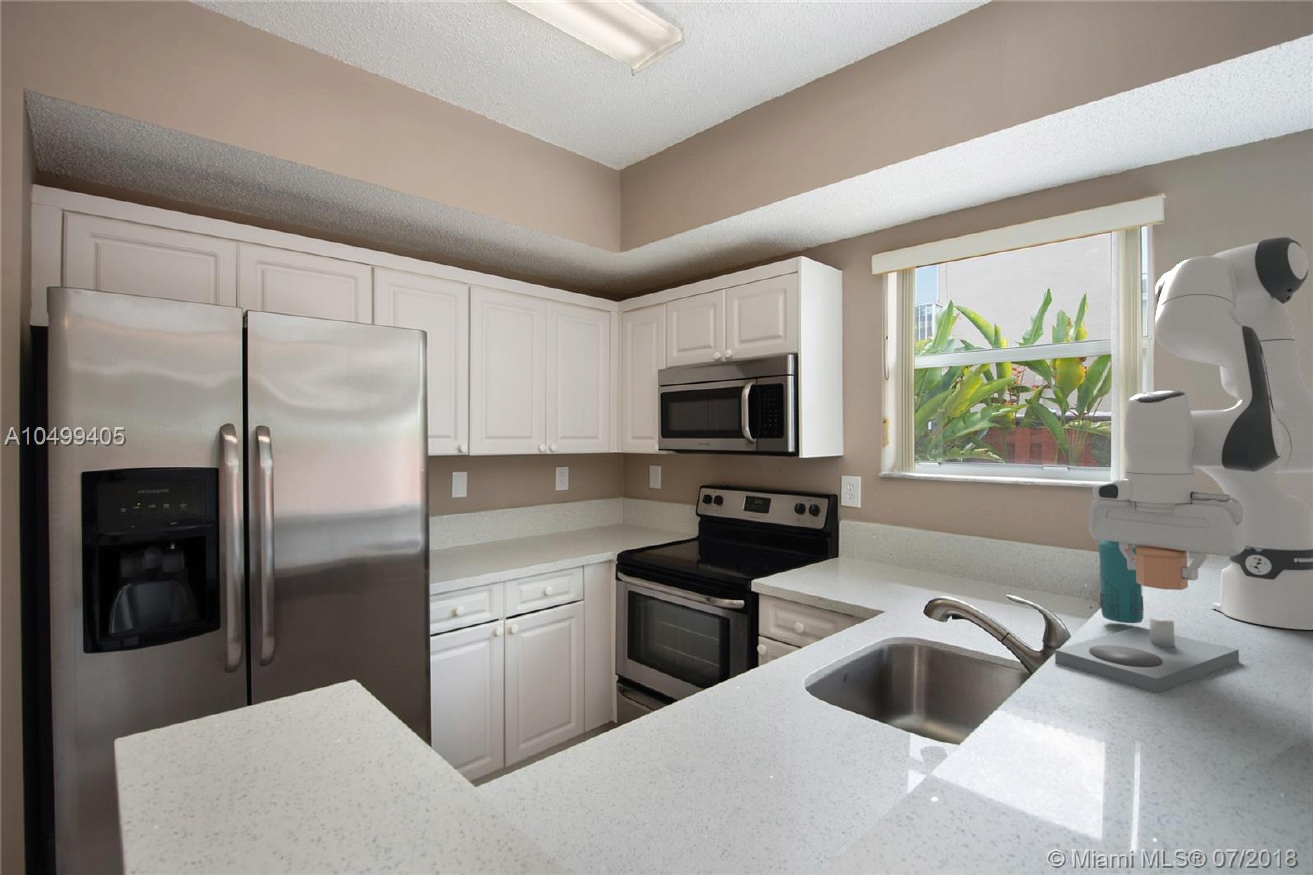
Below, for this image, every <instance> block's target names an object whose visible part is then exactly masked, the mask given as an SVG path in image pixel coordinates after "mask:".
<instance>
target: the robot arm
mask: <svg viewBox="0 0 1313 875" xmlns="http://www.w3.org/2000/svg"><path fill="white" fill-rule="evenodd" d="M1308 260H1309V259H1308V256H1307V253H1306V251H1305V250H1304V249H1303V247H1302V246H1301V244H1300V243H1299V242H1298V241H1296V240H1295V239H1292V238H1290V237H1287V236H1283V237H1273V238H1267V239H1262V240H1261V241H1259V242H1256V243H1251V244H1246V245H1243V246H1238V247H1234V248H1231V249H1230V248H1229V249H1227V250H1223V251H1220V252H1217V253H1216V254H1213V255H1202V256H1195V257H1191V258H1188V259H1186V260H1184V261H1181V262H1180V263H1179V264H1176V266H1175V267H1174V268H1172V269H1171V270H1170V271H1168V272H1165V273H1163V275H1162V276H1161V278H1159V280H1158V281H1157V283H1156V285H1155V288H1154V295H1155V297H1154V298H1155V301H1156V304H1157V308H1156V314H1155V318H1154V337H1155V340H1156V341H1157V343H1158V344H1159V346H1160V347H1161V348H1162V349H1164V350H1165V351H1166V352H1168V353H1169V354H1170V355H1173V356H1175V357H1178V358H1180V359H1183V360H1187V361H1191V362H1198V363H1202V364H1203V363H1204V364H1209V365H1213V366H1217V367H1219V373H1220V380H1221V386H1222V388H1223V390H1224V391H1225V392H1226V393H1227V394H1228V395H1230V396H1232V397H1233V398H1236V401H1237V402H1236V404H1235V405H1234V406H1233V407H1232V406H1231V407H1230V408H1227V409H1207V410H1205V409H1204V410H1192V409H1191V408H1192V407H1191V404H1190V400H1189V397H1188V394H1187V393H1185V392H1184V391H1181V390H1168V389H1167V390H1153V391H1148V392H1147V391H1146V392H1141V393H1137V394H1135V395H1133V396H1132V397H1130V398H1129V399H1128V401H1127V402H1128V403H1127V406H1126V410H1125V411H1126V412H1125V419H1124V438H1123V439H1124V449H1125V451H1126V454H1127V462H1126V465H1125V468H1124V479H1117V480H1114V481H1113V482H1108V483H1103V484H1098V485H1096V486H1093V487H1092V497H1094V498H1095V499H1094V500H1093V501H1092V502H1091V504H1090V505H1089V506H1090V507H1089V513H1088V532H1089V534H1090V536H1091V537H1092V538H1093V539H1094V540H1101V541H1102V540H1107V541H1114V542H1119V549H1120V551H1121V552H1122V554H1123V555H1124V557H1125V558H1126V559H1127V568H1128V570H1134V571H1136V556H1135V554H1134V552H1133V551H1132V549H1133V548H1135V544H1137V545H1144V546H1151V547H1159V548H1166V549H1174V550H1181V551H1187V552H1188V554H1189V555H1188V556H1189V559H1190V560H1192V561H1191V563H1190V564H1189V565H1188V566H1187V567H1183V568H1181V572H1182V579H1187V580H1188V581H1193V582H1194V581H1197V580H1198V579H1199V569H1200V568H1201V566H1202V565H1203V564H1204V563H1205V561H1206V560H1207V558H1208V555H1211V556H1219V557H1228V558H1229V561H1230V564H1229V565H1228V566H1226V567H1225V568H1223V569H1222V570H1221V574H1220V575H1221V577H1220V578H1221V579H1220V592H1219V593H1220V594H1219V597H1220V598H1219V601H1218V602H1212V603H1211V609H1213V610H1215V609H1216V610H1215V611H1219V612H1222V614H1224V615H1225V616H1228V617H1229V618H1233V619H1236V620H1239V621H1243V622H1247V623H1250V624H1251V623H1252V624H1257V625H1263V626H1268V627H1272V628H1273V627H1275V628H1283V629H1292V630H1304V631H1305V630H1307V631H1308V630H1310V631H1312V630H1313V511H1312V508H1311V507H1310V506H1309V504H1307V503H1306V502H1305V501H1304V500H1303V499H1301V498H1299V497H1297V496H1295V495H1293V494H1290V493H1288V492H1286V491H1285V490H1284V489H1283V488H1282V486H1281V485H1280V483H1279V481H1278V477H1277V474H1312V473H1313V394H1312V393H1311V392H1310V390H1309V388H1308V386H1307V384H1306V382H1305V379H1304V376H1303V372H1302V367H1301V363H1300V356H1299V351H1298V350H1299V349H1298V345H1297V344H1298V343H1297V338H1296V331H1295V327H1294V322H1293V320H1292V316H1291V314H1290V311H1289V308H1288V306H1287V302H1289V301H1291V299H1292V297H1293V294H1294V293H1296V292H1297V291H1298V290H1299V289H1300V288H1301V286H1303V284H1304V282H1305V280H1306V279H1307V277H1308V272H1309V261H1308ZM1196 468H1197V469H1199V470H1201V472H1203V473H1205V474H1206V475H1208V476H1209V477H1210V478H1212V480H1214V482H1215V483H1216V484H1217V485H1218V486H1219V487H1220V489H1221V491H1222V492H1223V493H1218V494H1216V493H1214V494H1213V493H1207V492H1198V491H1196V470H1195V469H1196Z"/></svg>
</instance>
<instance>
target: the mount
mask: <svg viewBox="0 0 1313 875" xmlns="http://www.w3.org/2000/svg"><path fill="white" fill-rule="evenodd" d="M1239 650H1240V649H1239V648H1234V647H1229V646H1225V645H1220V644H1216V643H1211V642H1207V641H1204V640H1203V641H1202V640H1198V639H1194V638H1190V637H1185V636H1181V635H1176V634H1175V621H1174V619H1171V618H1166V617H1161V616H1160V617H1159V616H1153V617H1152V616H1151V617H1149V628H1147V627H1146V628H1145V627H1141V626H1135V627H1131V628H1128V629H1124V630H1121V631H1120V630H1119V631H1116V632H1113V633H1110V634H1106V635H1101V636H1099V637H1095V638H1092V639H1089V640H1088V639H1087V640H1085V641H1082V642H1077V643H1074V644H1070V645H1067V646H1063V647H1059V648H1056V649H1054V660H1055V663H1058V664H1061V665H1063V666H1067V667H1070V668H1073V669H1077V670H1080V671H1083V672H1087V673H1091V674H1094V675H1097V676H1099V677H1103V678H1107V679H1110V680H1114V681H1115V682H1120V683H1123V684H1126V685H1130V686H1133V687H1136V688H1140V689H1143V690H1147V691H1150V692H1152V693H1156V694H1158V693H1161V692H1163V691H1167V690H1169V689H1173V688H1174V687H1177V686H1180V685H1182V684H1184V683H1188V682H1190V681H1192V680H1193V681H1194V680H1195V679H1198V678H1200V677H1203V676H1207V675H1208V674H1213V673H1214V672H1216V671H1220V670H1222V669H1224V668H1228V667H1230V666H1233V665H1235V664H1239V663H1240V654H1239V653H1240V652H1239Z"/></svg>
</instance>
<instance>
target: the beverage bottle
mask: <svg viewBox="0 0 1313 875" xmlns="http://www.w3.org/2000/svg"><path fill="white" fill-rule="evenodd" d="M1136 546H1138V545H1137V544H1135V548H1133V549H1132V551H1133V552H1134V554H1135V556H1136ZM1098 548H1099V576H1100V577H1099V584H1100V592H1099V593H1100V594H1099V595H1100V599H1099V600H1100V609H1101V615H1102V617H1103V618H1104V619H1105V620H1109V621H1112V622H1118V623H1125V624H1137V623H1138V624H1139V623H1142V622H1143V619H1144V618H1145V617H1144V610H1145V609H1144V596H1143V591H1144V589H1143V588H1144V586H1143V585H1141V584H1138V583H1136V571H1134V570H1128V568H1127V559H1126V558H1125V557H1124V555H1123V554H1122V552H1121V551H1120V549H1119V542H1114V541H1107V540H1101V541H1099V543H1098Z"/></svg>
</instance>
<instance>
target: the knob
mask: <svg viewBox="0 0 1313 875" xmlns="http://www.w3.org/2000/svg"><path fill="white" fill-rule="evenodd" d="M1187 553H1188V551H1181V550H1174V549H1166V548H1159V547H1151V546H1144V545H1138V546H1136V583H1138V584H1141V585H1142V587H1146V588H1147V587H1148V588H1153V589H1161V590H1174V591H1175V590H1178V591H1182V590H1186V589H1188V588H1189V583H1188V581H1189V580H1187V579H1182V572H1181V568H1183V567H1188V554H1187Z"/></svg>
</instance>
